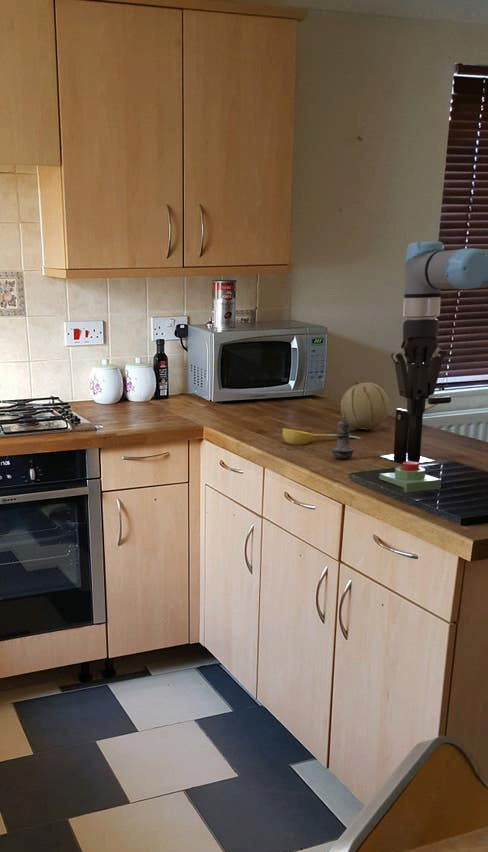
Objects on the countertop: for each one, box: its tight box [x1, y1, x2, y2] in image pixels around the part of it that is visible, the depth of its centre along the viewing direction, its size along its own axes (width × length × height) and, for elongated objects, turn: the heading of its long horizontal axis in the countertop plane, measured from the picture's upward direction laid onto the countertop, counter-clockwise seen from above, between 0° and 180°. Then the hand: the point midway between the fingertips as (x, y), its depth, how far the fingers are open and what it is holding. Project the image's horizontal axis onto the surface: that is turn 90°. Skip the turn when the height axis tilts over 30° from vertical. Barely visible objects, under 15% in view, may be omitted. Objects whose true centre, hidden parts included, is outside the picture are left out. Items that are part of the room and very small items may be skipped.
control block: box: [378, 466, 442, 494], centre depth 199 cm, size 11×9×4 cm
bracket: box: [378, 408, 437, 465], centre depth 222 cm, size 12×9×14 cm
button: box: [401, 461, 420, 471], centre depth 199 cm, size 4×4×2 cm
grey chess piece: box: [330, 416, 355, 461], centre depth 225 cm, size 6×6×12 cm
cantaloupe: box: [340, 380, 390, 429], centre depth 272 cm, size 15×15×15 cm
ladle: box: [282, 427, 361, 446], centre depth 252 cm, size 9×26×6 cm, turn 107°
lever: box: [425, 395, 452, 412], centre depth 214 cm, size 15×6×2 cm, turn 19°
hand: (414, 428), depth 196 cm, fingers closed
